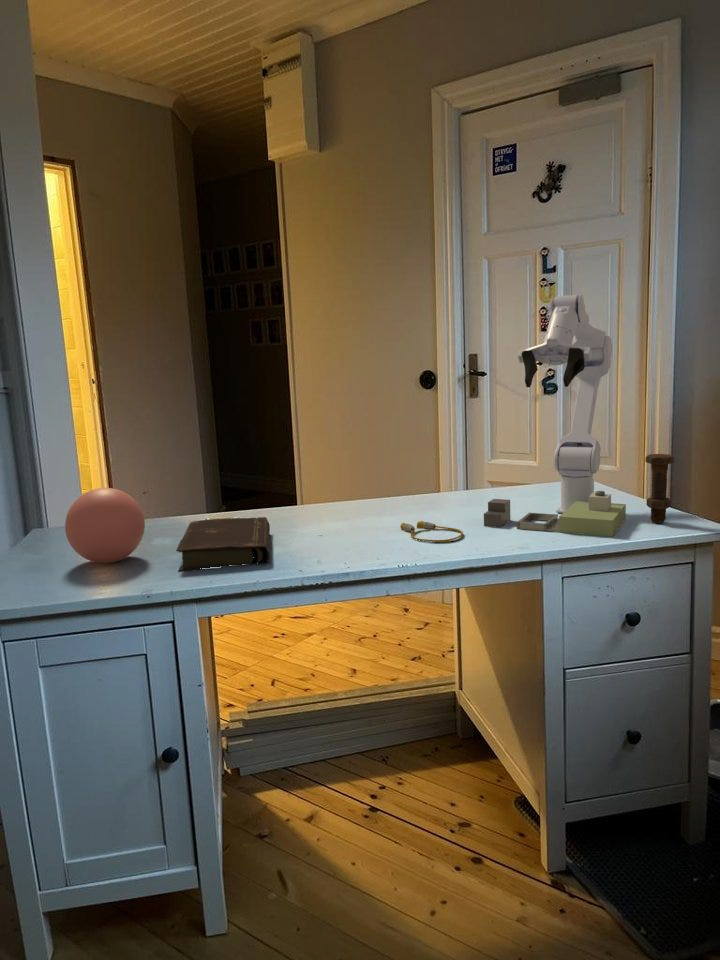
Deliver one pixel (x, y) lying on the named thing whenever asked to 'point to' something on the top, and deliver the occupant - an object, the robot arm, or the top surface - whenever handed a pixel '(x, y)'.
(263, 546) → the diary
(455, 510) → the top surface
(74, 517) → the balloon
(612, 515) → the deck
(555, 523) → the grey rectangular frame
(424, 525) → the extension cord
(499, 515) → the stepped block
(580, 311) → the robot arm
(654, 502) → the bolt
